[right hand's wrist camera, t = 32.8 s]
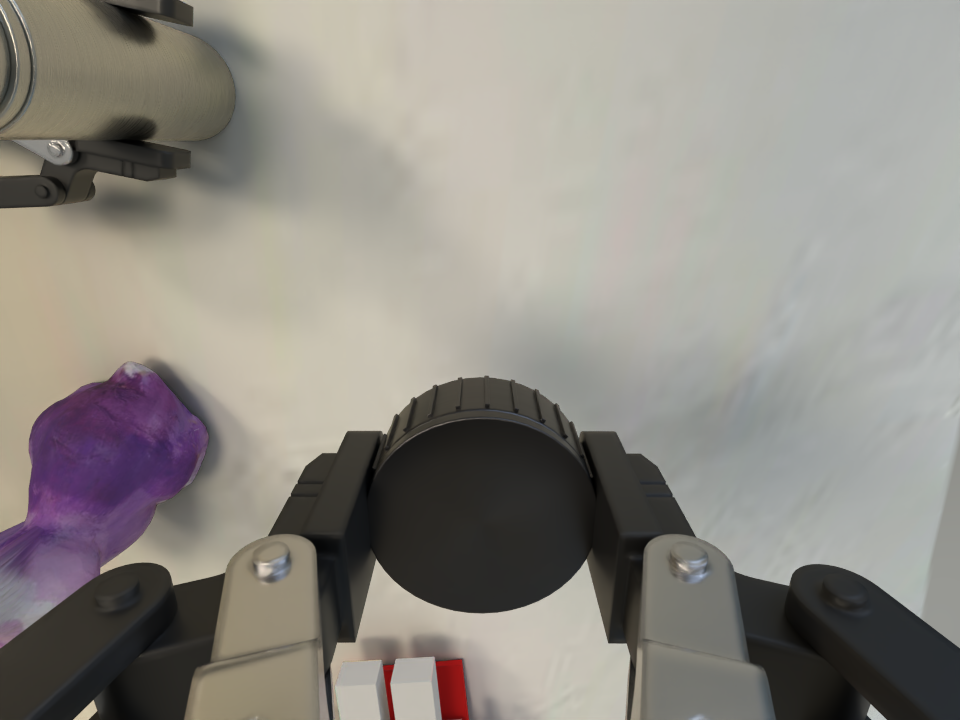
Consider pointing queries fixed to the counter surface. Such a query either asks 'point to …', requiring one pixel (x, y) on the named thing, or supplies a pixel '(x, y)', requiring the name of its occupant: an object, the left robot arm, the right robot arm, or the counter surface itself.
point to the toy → (402, 690)
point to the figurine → (94, 487)
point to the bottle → (106, 76)
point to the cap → (481, 497)
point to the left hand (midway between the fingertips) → (181, 88)
